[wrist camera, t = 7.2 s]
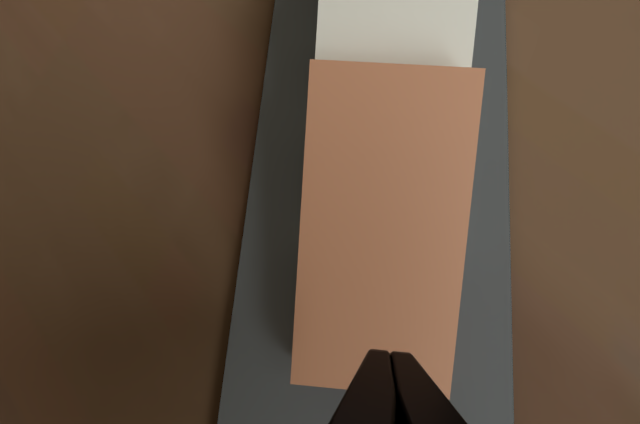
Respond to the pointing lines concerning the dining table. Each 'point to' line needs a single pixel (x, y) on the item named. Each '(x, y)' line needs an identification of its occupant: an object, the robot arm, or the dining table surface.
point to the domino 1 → (397, 31)
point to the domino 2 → (383, 216)
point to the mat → (283, 242)
